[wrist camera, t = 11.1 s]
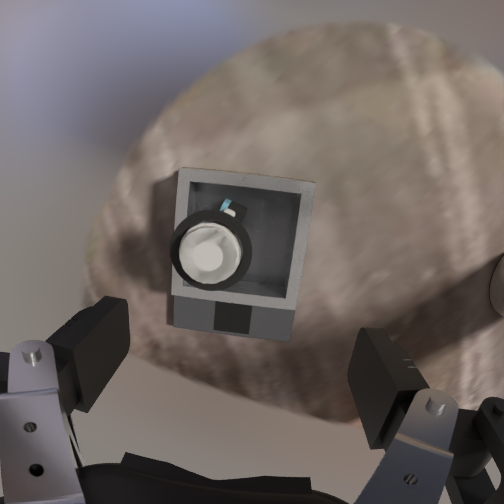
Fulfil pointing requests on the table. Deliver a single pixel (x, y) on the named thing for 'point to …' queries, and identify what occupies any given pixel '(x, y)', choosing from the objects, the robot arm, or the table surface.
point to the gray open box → (263, 253)
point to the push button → (212, 248)
